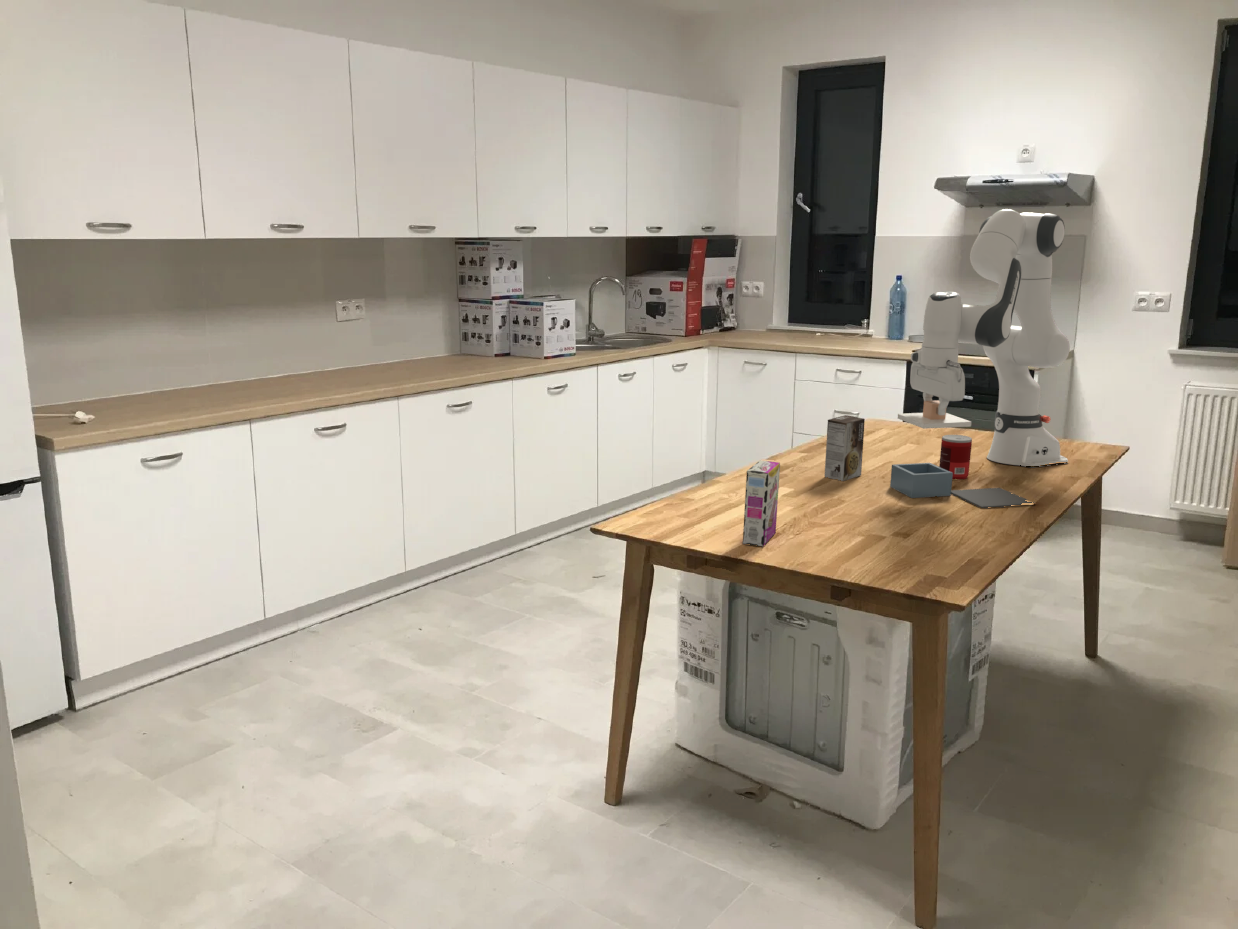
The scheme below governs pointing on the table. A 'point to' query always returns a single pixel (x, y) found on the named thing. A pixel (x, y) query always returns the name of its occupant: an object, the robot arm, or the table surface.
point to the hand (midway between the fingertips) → (934, 412)
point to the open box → (921, 480)
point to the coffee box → (844, 447)
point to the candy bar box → (761, 502)
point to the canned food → (956, 455)
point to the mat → (989, 497)
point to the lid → (933, 418)
